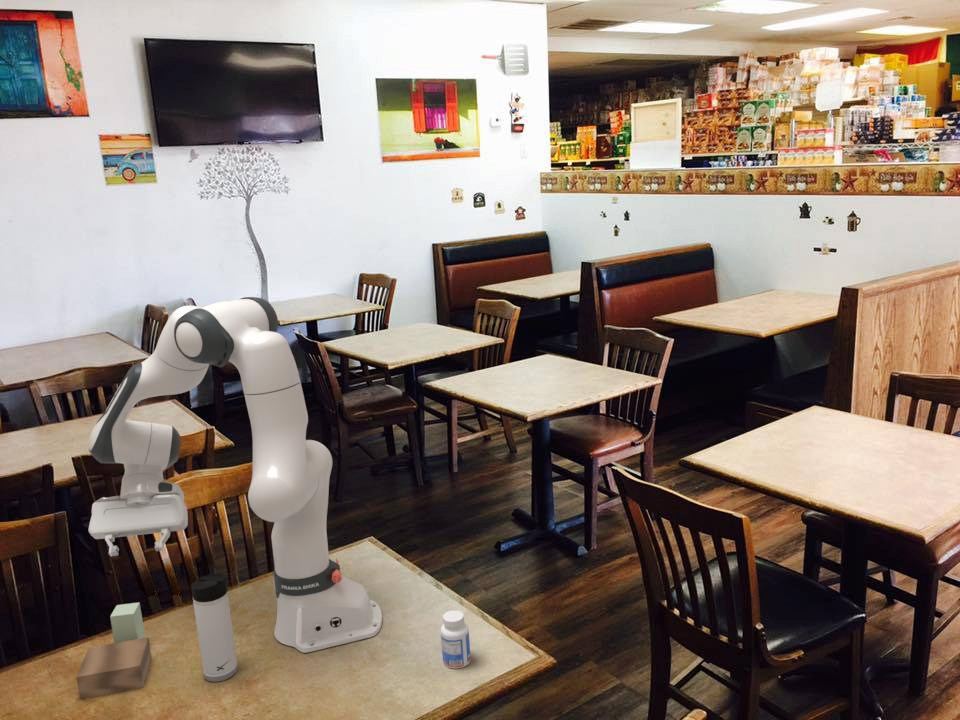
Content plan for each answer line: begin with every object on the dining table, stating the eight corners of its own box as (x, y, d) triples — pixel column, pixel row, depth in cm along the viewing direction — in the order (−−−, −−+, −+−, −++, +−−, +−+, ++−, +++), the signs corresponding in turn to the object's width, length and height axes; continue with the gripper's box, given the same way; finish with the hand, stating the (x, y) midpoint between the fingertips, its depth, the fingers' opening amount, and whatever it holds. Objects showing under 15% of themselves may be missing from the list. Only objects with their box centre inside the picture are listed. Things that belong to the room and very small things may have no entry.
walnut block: (151, 659, 156) (148, 637, 155) (143, 689, 147) (139, 665, 146) (92, 670, 154) (88, 647, 153) (80, 701, 144) (76, 677, 143)
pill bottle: (457, 649, 154) (454, 604, 151) (476, 660, 150) (473, 614, 148) (436, 662, 150) (433, 616, 148) (455, 673, 146) (452, 626, 144)
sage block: (145, 641, 162) (139, 602, 160) (140, 653, 158) (133, 613, 156) (123, 644, 162) (116, 605, 160) (116, 656, 157) (110, 616, 155)
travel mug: (229, 683, 146) (215, 587, 142) (197, 681, 148) (183, 585, 143) (245, 664, 152) (233, 570, 148) (214, 661, 154) (201, 569, 149)
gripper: (88, 492, 172) (80, 553, 164) (184, 483, 175) (181, 542, 167) (97, 503, 177) (90, 563, 169) (191, 494, 180) (187, 552, 172)
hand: (136, 552), depth 168 cm, fingers open, 8 cm apart
